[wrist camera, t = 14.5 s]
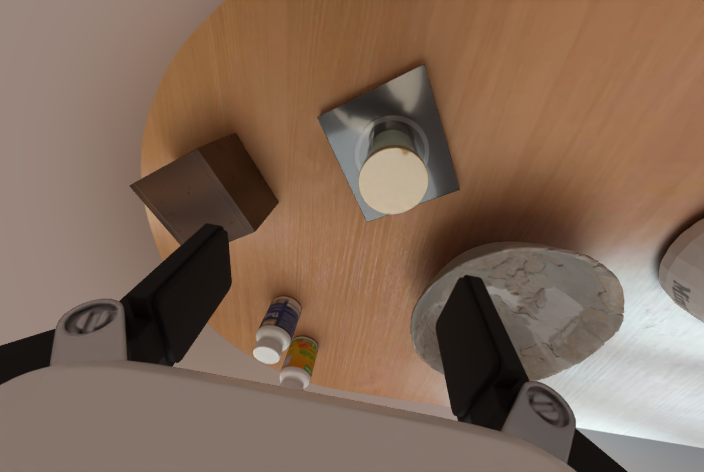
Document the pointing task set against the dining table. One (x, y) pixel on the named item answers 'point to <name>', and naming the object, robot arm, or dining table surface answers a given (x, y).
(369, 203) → the jar
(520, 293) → the ceramic bowl
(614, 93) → the dining table surface
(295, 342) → the supplement bottle
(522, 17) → the dining table surface
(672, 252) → the mug
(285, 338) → the pill bottle
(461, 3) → the dining table surface
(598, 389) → the dining table surface
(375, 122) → the hob
